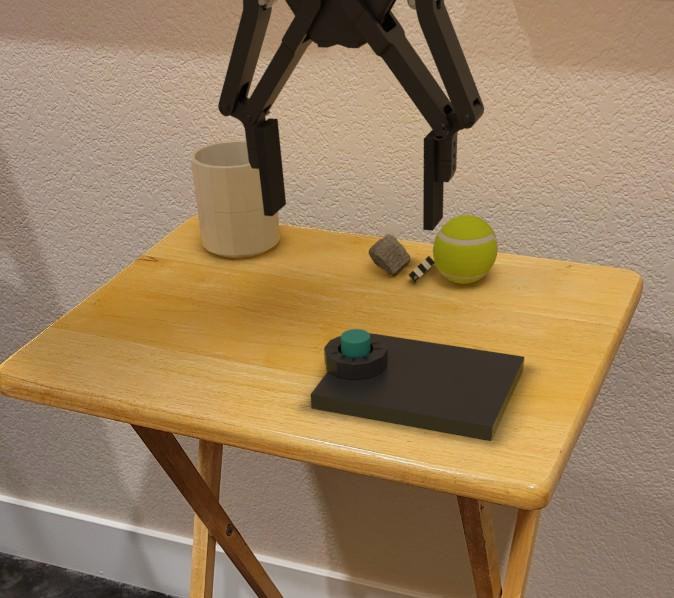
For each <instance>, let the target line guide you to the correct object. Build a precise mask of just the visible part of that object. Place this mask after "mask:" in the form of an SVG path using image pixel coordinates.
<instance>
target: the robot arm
mask: <svg viewBox="0 0 674 598" xmlns="http://www.w3.org/2000/svg"><path fill="white" fill-rule="evenodd" d="M284 1H285V2H286V4H287V6H288V7H289V9H290V11H291V12H292V14H293V15H294V17H293V19H292V21H291V22H290V24H289V26H288V28H287V29H286V31H285V33H284V34H283V36H282V38H281V42H280V45H279V46H278V48H277V50H276V52H275V53H274V55H273V57H272V59H271V60H270V62H269V63H268V65H267V67H266V69H265V70H264V72H263V74H262V76H261V78H260V79H259V81H258V83H257V84H256V86H255V88H254V90H253V91H252V93H251V94H250V96H249V93H250V90H251V86H252V82H253V80H254V75H255V72H256V68H257V65H258V61H259V58H260V56H261V55H260V54H261V52H262V47H263V44H264V42H265V41H264V40H265V37H266V33H267V30H268V27H269V23H270V20H271V16H272V11H273V7H275V6H276V5H277V4H278V2H279V0H242V12H241V16H240V20H239V24H238V26H237V31H236V35H235V38H234V43H233V47H232V49H231V55H230V57H229V62H228V66H227V69H226V73H225V77H224V81H223V85H222V89H221V93H220V97H219V101H218V105H217V108H218V111H219V113H220V114H221V115H222V116H223V117H229V116H230V117H232V118H234V119H236V120H238V121H240V122H241V124H242V125H243V128H244V135H245V141H246V144H247V152H248V160H249V163H250V166H251V168H252V169H259V175H260V183H261V192H262V200H263V209H264V216H274V215H275V214H276V213H277V212H278V213H279V211H281V210H282V209H283V208H284V207H285V206H286V205H287V199H286V198H287V197H286V190H285V178H284V169H283V160H282V147H281V139H280V129H279V119H278V118H271V117H270V118H267V119H266V117H267V116H268V115H269V114H270V113H271V111H270V110H271V108H272V107H273V105H274V103H275V102H276V100H277V99H278V98H279V96H280V94H281V92H282V91H283V89H284V88H285V85H286V84H287V82H288V80H289V79H290V78H291V75H292V74H293V72H294V71H295V69H296V67H297V65H298V64H299V62H300V61H301V60H302V58H303V55H304V54H305V52H306V51H307V50H308V47H309V46H310V45H311V44H313V43H314V44H316V45H317V48H321V49H323V48H327V49H329V48H331V47H335V46H336V45H337V46H341V47H344V48H347V49H360V48H361V47H363V46H365V45H366V44H367V45H368V46H369V48H370V49H371V50H372V51H373V53H374V54H375V55H376V56H377V57H380V58H381V59H382V60H383V62H384V63H385V65H386V66H387V67H388V69H389V70H390V71H391V73H392V74H393V75H394V77H395V79H396V80H397V82H398V83H399V85H400V86H401V87H402V89H403V90H404V92H405V93H406V94H407V96H408V97H409V98H410V100H411V101H412V103H413V104H414V106H415V107H416V109H417V110H418V112H419V113H420V114H421V116H422V117H423V118H424V120H425V121H426V122H427V124H428V126H429V127H430V128H431V130H430V131H429V132H428V133H427V135H425V136H424V137H423V182H422V183H423V185H422V186H423V193H422V194H423V195H422V196H423V197H422V199H423V201H422V202H423V204H422V205H423V206H422V207H423V208H422V213H423V214H422V215H423V216H422V217H423V218H422V230H423V231H434V230H435V229H436V228H437V226H438V224H439V223H440V222H441V221H442V220H443V218H444V189H445V187H444V183H449V182H450V181H451V180H452V179H453V178H454V176H455V174H456V172H457V165H458V164H457V162H458V161H457V160H458V135H459V133H458V132H460V131H462V130H465V129H466V130H468V129H471V128H472V127H474V126H475V125H476V123H477V122H479V120H480V119H481V118H482V116H483V115H484V113H485V105H484V103H483V100H482V98H481V94H480V92H479V90H478V86H477V85H476V82H475V79H474V77H473V75H472V72H471V69H470V67H469V64H468V61H467V59H466V56H465V53H464V51H463V48H462V46H461V42H460V40H459V38H458V35H457V33H456V30H455V27H454V25H453V22H452V19H451V17H450V15H449V12H448V10H447V7H446V4H445V0H406V2H407V4H408V6H409V8H410V9H412V10H414V11H415V12H416V17H417V21H418V24H419V26H420V29H421V31H422V34H423V37H424V39H425V42H426V44H427V47H428V49H429V52H430V54H431V56H432V59H433V62H434V64H435V66H436V69H437V71H438V74H439V77H440V80H441V81H442V84H443V86H444V90H445V92H446V94H445V92H444V90H443V89H442V87H441V86H440V84H439V83H438V82H437V80H436V78H435V77H434V76H433V74H432V72H430V70H429V68H428V67H427V66H426V64H425V63H424V61H423V60H422V58H421V57H420V56H419V54H418V53H417V51H416V50H415V49H414V47H413V45H412V44H411V43H410V41H409V39H408V38H407V36H406V32H405V29H404V28H403V26H402V24H401V23H400V21H399V20H398V19H397V17H396V16H395V14H394V13H393V11H392V9H393V7H394V5H395V4H396V2H397V0H284ZM248 96H249V97H248Z"/></svg>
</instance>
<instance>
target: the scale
mask: <svg viewBox="0 0 674 598" xmlns="http://www.w3.org/2000/svg"><path fill="white" fill-rule="evenodd" d="M368 333H369V334H370V354H368V355H365V356H362V357H349V356H345V355H343V354H342V353H341V335H338V336H336V337H334V338H332V339H329V341H328V342H327V343H326V344H325V346H324V347H323V356H324V366H325V369H326V373H325V374H324V375H323V377H322V378H321V380H320V381H319V382H318V384H317V385H316V386H315V387H314V389H313V390H312V391H311V392H310V408H311V409H315V410H319V411H324V412H325V411H326V412H332V413H335V414H342V415H348V416H353V417H359V418H364V419H369V420H375V421H381V422H387V423H391V424H396V425H397V424H398V425H404V426H409V427H415V428H420V429H426V430H431V431H436V432H440V433H441V432H442V433H446V434H452V435H459V436H464V437H469V438H474V439H475V438H476V439H480V440H486V441H492V439H493V437H494V435H495V433H496V430H497V428H498V426H499V424H500V421H501V420H502V418H503V415H504V413H505V411H506V409H507V406H508V404H509V403H510V399H511V397H512V395H513V393H514V391H515V388H516V386H517V384H518V382H519V380H520V378H521V375H522V374H523V371H524V364H525V356H523V355H517V354H510V353H505V352H504V353H503V352H498V351H497V352H496V351H490V350H484V349H477V348H470V347H464V346H459V345H451V344H443V343H437V342H431V341H425V340H418V339H412V338H405V337H399V336H392V335H386V334H379V333H372V332H368Z"/></svg>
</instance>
